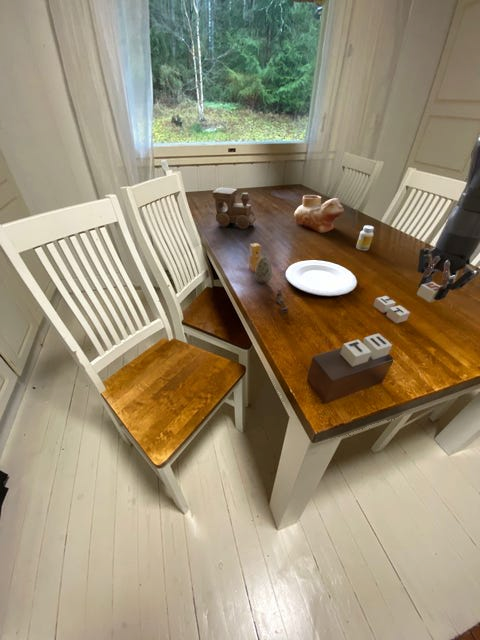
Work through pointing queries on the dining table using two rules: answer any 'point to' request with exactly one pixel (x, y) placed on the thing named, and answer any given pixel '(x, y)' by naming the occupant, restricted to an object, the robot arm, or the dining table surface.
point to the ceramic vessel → (318, 213)
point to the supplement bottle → (365, 238)
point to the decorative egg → (263, 270)
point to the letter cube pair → (391, 309)
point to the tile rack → (344, 374)
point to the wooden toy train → (232, 208)
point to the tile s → (428, 291)
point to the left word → (365, 349)
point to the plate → (321, 278)
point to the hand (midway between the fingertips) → (429, 294)
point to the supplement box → (254, 255)
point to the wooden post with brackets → (281, 300)
